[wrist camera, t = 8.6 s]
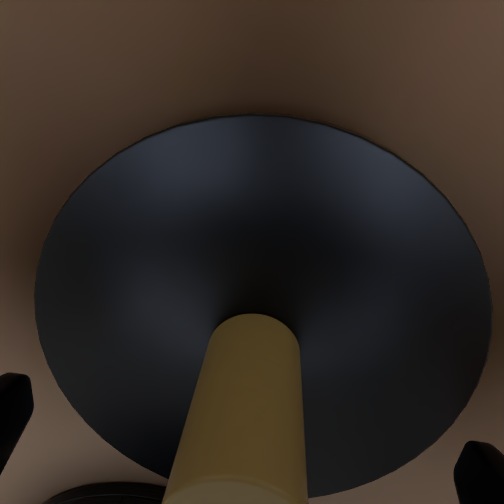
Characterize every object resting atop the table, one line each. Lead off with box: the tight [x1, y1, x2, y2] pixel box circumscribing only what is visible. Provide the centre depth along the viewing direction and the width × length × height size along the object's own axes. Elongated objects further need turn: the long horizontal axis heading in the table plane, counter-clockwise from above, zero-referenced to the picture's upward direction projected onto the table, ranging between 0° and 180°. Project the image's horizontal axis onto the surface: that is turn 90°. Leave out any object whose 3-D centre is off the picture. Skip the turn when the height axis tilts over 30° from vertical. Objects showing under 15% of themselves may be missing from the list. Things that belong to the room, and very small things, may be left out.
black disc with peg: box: [34, 112, 493, 504], centre depth 9 cm, size 12×12×6 cm
